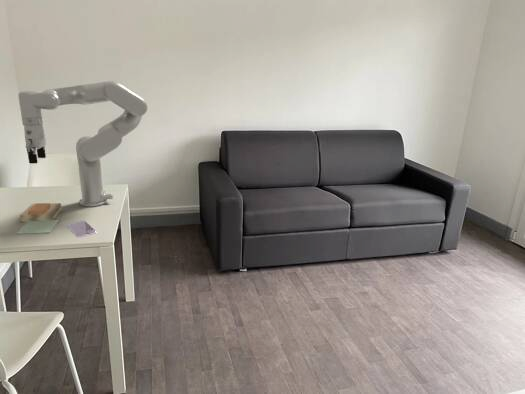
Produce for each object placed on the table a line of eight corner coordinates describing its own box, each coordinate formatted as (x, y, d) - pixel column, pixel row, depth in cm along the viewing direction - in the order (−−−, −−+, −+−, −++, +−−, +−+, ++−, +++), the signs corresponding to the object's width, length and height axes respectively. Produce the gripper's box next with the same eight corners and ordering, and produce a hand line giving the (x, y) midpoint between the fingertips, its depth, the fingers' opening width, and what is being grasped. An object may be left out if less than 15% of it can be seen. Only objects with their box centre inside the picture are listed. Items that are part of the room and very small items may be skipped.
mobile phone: (85, 219, 172) (97, 231, 161) (85, 221, 172) (98, 233, 162) (66, 223, 167) (77, 236, 157) (66, 226, 168) (78, 238, 157)
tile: (50, 207, 178) (49, 203, 178) (43, 214, 170) (43, 210, 169) (35, 207, 177) (35, 203, 176) (28, 214, 169) (27, 210, 168)
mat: (59, 221, 171) (59, 220, 171) (49, 233, 160) (49, 232, 160) (28, 221, 169) (28, 221, 169) (16, 234, 158) (16, 233, 158)
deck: (61, 209, 184) (60, 203, 183) (52, 221, 171) (51, 214, 170) (33, 210, 182) (32, 203, 181) (21, 222, 169) (19, 215, 168)
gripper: (33, 124, 164) (39, 165, 170) (48, 118, 181) (53, 156, 186) (14, 124, 163) (20, 165, 169) (30, 118, 179) (36, 155, 185)
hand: (37, 160), depth 177 cm, fingers open, 9 cm apart
